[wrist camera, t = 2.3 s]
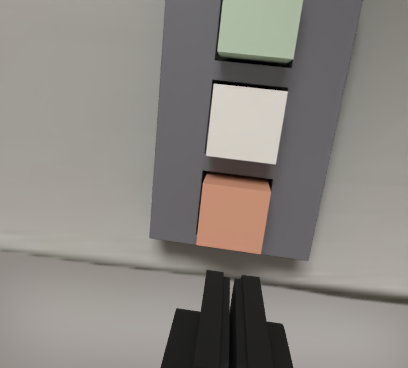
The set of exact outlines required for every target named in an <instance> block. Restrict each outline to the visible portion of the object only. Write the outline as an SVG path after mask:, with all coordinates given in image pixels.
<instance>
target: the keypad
mask: <svg viewBox="0 0 408 368" xmlns="http://www.w3.org/2000/svg"><path fill="white" fill-rule="evenodd" d="M362 2H363V0H303V5H302V11H301V17H300V23H299V29H298V35H297V41H296V47H295V53H294V59H293V60H291V61H290V62H288V63H287V66H286V68H284V67H275V66H265V65H255V64H246V63H236V62H226V61H218V52H217V50H218V40H219V31H220V22H221V13H222V4H223V0H165V15H164V29H163V44H162V59H161V74H160V89H159V103H158V118H157V133H156V148H155V162H154V177H153V192H152V207H151V221H150V236H149V238H152V239H159V240H166V241H173V242H180V243H187V244H194V245H196V242H197V233H198V223H199V214H200V205H201V196H202V187H203V182H204V179H205V172H206V171H212V172H220V173H228V174H236V175H244V176H251V177H259V178H267V179H268V184H269V187H270V190H271V196H270V202H269V208H268V214H267V220H266V226H265V232H264V238H263V244H262V250H261V254H264V255H271V256H278V257H285V258H292V259H299V260H306V261H308V259H309V255H310V250H311V245H312V240H313V236H314V231H315V226H316V221H317V216H318V212H319V207H320V202H321V197H322V193H323V188H324V183H325V178H326V174H327V169H328V164H329V159H330V154H331V150H332V145H333V140H334V135H335V131H336V126H337V121H338V116H339V112H340V107H341V102H342V97H343V92H344V88H345V83H346V78H347V73H348V69H349V64H350V59H351V54H352V50H353V45H354V40H355V35H356V30H357V26H358V21H359V16H360V11H361V7H362ZM215 81H218V82H227V83H237V84H246V85H255V86H265V87H274V88H283V90H282V91H287V92H288V94H287V100H286V106H285V112H284V118H283V124H282V130H281V136H280V142H279V148H278V154H277V160H276V164H268V163H260V162H252V161H244V160H236V159H228V158H220V157H212V156H206V150H207V141H208V132H209V123H210V113H211V104H212V95H213V86H214V84H215Z"/></svg>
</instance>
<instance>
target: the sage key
mask: <svg viewBox="0 0 408 368" xmlns="http://www.w3.org/2000/svg"><path fill="white" fill-rule="evenodd" d="M302 5H303V0H223V4H222V13H221V22H220V31H219V40H218V50H217V52H218V54H219V56H220V58H227V59H237V60H247V61H257V62H266V63H276V64H287V63H288V62H290V61H291V60H293V59H294V53H295V47H296V41H297V35H298V29H299V23H300V17H301V11H302Z"/></svg>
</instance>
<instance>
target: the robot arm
mask: <svg viewBox="0 0 408 368" xmlns="http://www.w3.org/2000/svg"><path fill="white" fill-rule="evenodd" d="M223 274H224V272H218V271H211V270H207V272H206V279H205V286H204V294H203V300H202V307H201V312H198V311H191V310H185V309H178V308H177V309H176V312H175V315H174V319H173V323H172V327H171V330H170V334H169V338H168V342H167V346H166V349H165V353H164V357H163V361H162V364H161V368H293V364H292V360H291V355H290V351H289V347H288V342H287V338H286V334H285V330H284V326H283V325H282V324H280V323H273V322H266V316H265V309H264V303H263V297H262V290H261V284H260V278H259V277H253V276H246V275H242V276H241V279H235V280H234V286H233V293H232V299H231V306H230V313H229V303H230V300H229V299H230V278H228V277H223Z"/></svg>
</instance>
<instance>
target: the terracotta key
mask: <svg viewBox="0 0 408 368" xmlns="http://www.w3.org/2000/svg"><path fill="white" fill-rule="evenodd" d="M270 196H271V190H270V187H269V184H268V181H267V179H265V178H257V177H249V176H241V175H234V174H226V173H218V172H210V171H208V172H207V174H206V177H205V179H204V182H203V187H202V196H201V205H200V214H199V223H198V233H197V242H196V245H199V246H206V247H213V248H220V249H227V250H234V251H241V252H248V253H255V254H261V250H262V244H263V238H264V232H265V226H266V220H267V214H268V208H269V202H270Z"/></svg>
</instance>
